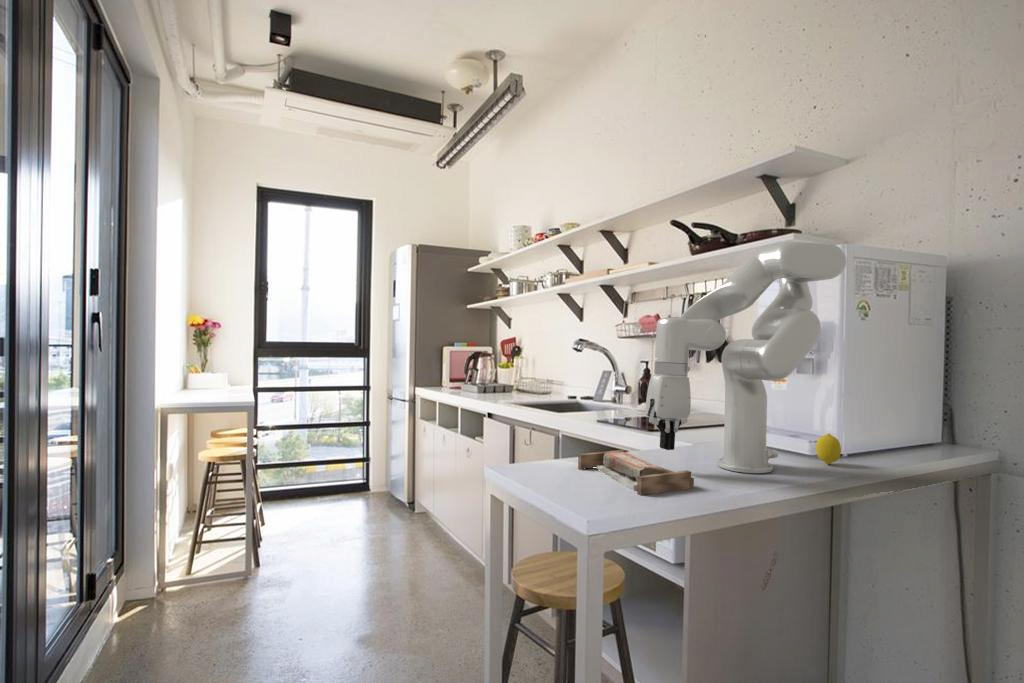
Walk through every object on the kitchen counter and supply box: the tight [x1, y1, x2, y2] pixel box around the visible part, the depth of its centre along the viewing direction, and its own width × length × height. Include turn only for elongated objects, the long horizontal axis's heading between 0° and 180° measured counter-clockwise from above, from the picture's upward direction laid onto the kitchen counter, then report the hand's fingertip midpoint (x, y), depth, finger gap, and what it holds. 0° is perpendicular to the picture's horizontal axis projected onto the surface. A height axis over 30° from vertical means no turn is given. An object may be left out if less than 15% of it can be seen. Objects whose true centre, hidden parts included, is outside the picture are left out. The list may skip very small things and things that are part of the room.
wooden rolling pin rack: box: [577, 449, 695, 496], centre depth 120 cm, size 14×23×4 cm, turn 26°
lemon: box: [815, 433, 842, 465], centre depth 136 cm, size 6×6×8 cm
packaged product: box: [596, 451, 664, 491], centre depth 120 cm, size 18×5×10 cm
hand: (666, 448), depth 125 cm, fingers closed
